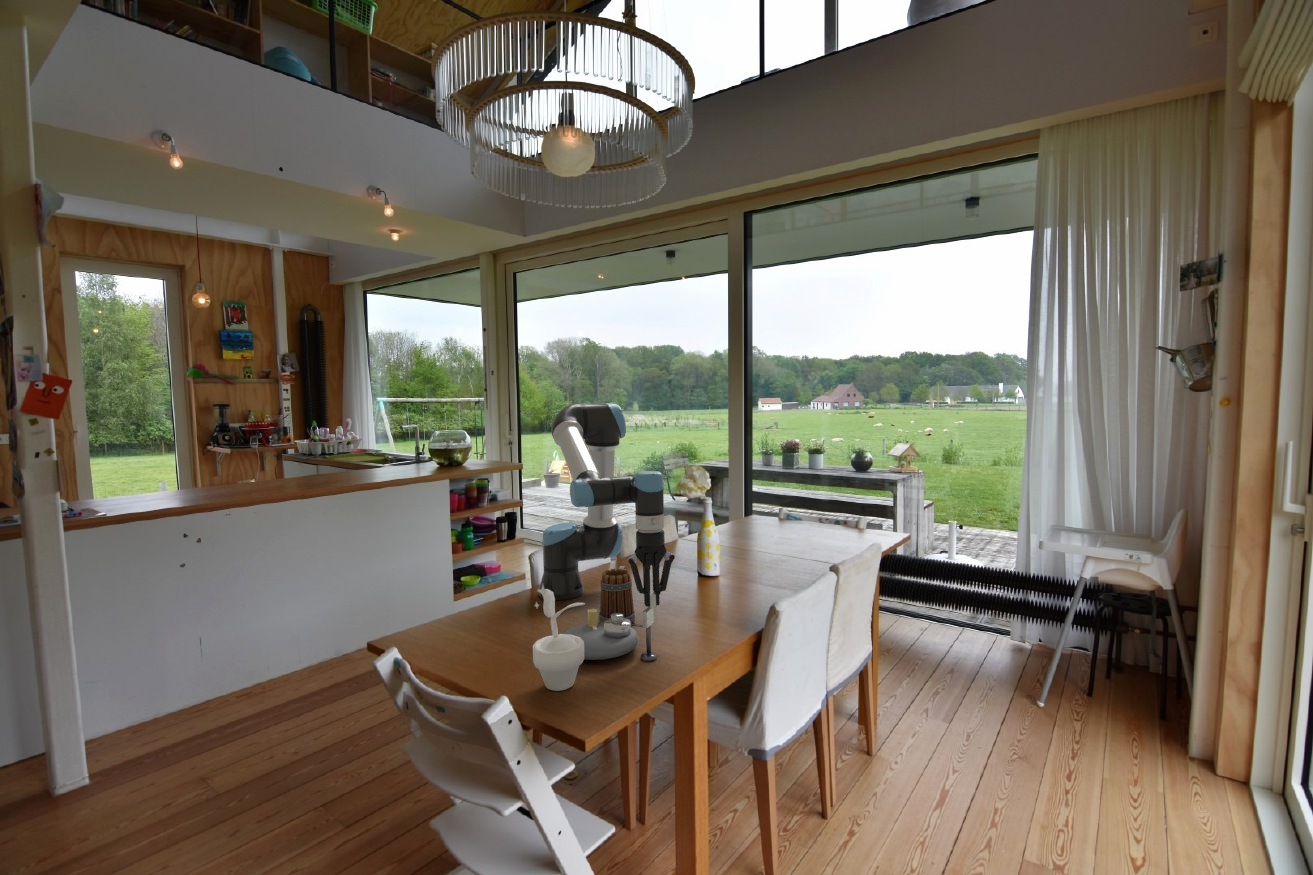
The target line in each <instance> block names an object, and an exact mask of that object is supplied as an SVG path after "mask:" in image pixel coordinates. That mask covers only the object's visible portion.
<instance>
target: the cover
mask: <svg viewBox="0 0 1313 875" xmlns="http://www.w3.org/2000/svg"><path fill="white" fill-rule="evenodd" d="M630 634H631V622H630V620H628V619H626V618H623V614H622V613H613V614H611V619H608V620H606V621H605V622H604V635H605V636H606V637H608V638H612V639H620V638H625V637H628V636H629V635H630Z"/></svg>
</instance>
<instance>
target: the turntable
mask: <svg viewBox="0 0 1313 875" xmlns="http://www.w3.org/2000/svg"><path fill="white" fill-rule="evenodd" d="M586 613H587V623H584V624H578V625H576V626H573V627H570V628H568V629H567V630H565V631H564V632H562V634H567V635H574V636H577V637H580V638H581V639H582V640H583V641H584V660H586V661H587V660H589V661H590V660H591V661H594V660H595V661H597V660H599V661H600V660H607V659H613V658H617V657H620V656H623V655H626V654H628V653H630V652H631V651H633V650H634V649H635V648H637V645H638V632H637V631H636V630H635V628H634V627H631V634H630V635H629V636H628V637H625V638H620V639H612V638H608V637H606V636H605V635H604V622H600V621H599V612H598V610H597V608H591V609H587V612H586Z"/></svg>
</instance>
